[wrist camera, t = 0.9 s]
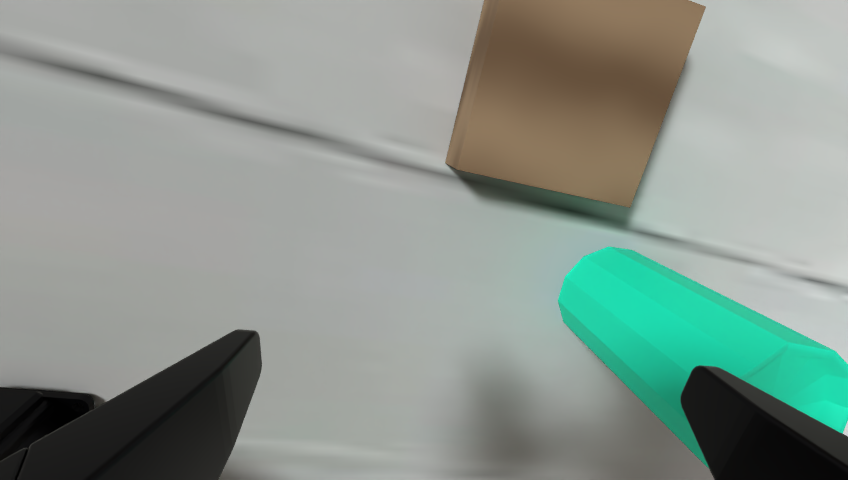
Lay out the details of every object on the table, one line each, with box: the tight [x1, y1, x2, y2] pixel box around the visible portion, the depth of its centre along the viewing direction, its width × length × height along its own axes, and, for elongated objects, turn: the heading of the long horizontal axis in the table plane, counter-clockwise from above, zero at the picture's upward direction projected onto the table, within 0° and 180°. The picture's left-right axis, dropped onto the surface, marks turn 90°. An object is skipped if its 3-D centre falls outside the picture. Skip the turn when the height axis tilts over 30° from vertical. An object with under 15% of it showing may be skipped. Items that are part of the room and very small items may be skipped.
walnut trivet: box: [445, 0, 706, 207], centre depth 18 cm, size 9×9×2 cm
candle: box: [558, 247, 848, 468], centre depth 18 cm, size 6×6×12 cm
